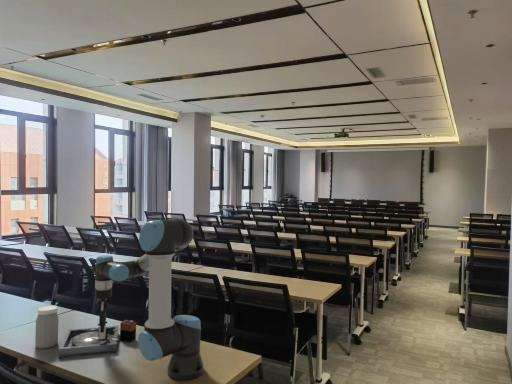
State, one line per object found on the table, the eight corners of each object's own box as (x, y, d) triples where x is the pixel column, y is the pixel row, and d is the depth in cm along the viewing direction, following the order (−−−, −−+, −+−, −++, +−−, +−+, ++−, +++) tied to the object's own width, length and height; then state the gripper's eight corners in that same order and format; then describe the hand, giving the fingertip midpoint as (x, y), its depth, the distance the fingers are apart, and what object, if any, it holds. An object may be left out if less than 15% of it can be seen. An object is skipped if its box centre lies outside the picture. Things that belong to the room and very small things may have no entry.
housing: (117, 352, 176) (118, 343, 176) (58, 358, 168) (58, 348, 168) (119, 333, 199) (120, 325, 199) (67, 337, 191) (68, 329, 191)
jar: (47, 340, 187) (48, 303, 187) (62, 343, 184) (63, 306, 184) (29, 347, 178) (31, 309, 178) (46, 351, 175) (47, 312, 175)
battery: (130, 342, 187) (130, 322, 187) (119, 340, 190) (120, 320, 190) (136, 339, 191) (136, 320, 191) (125, 337, 194) (126, 318, 194)
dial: (63, 346, 177) (63, 331, 177) (86, 333, 194) (87, 319, 194) (95, 351, 173) (95, 335, 173) (116, 337, 190) (117, 322, 190)
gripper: (111, 291, 173) (109, 343, 173) (112, 284, 185) (111, 332, 186) (93, 292, 171) (92, 344, 171) (96, 285, 183) (94, 333, 183)
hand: (102, 338), depth 178 cm, fingers closed
